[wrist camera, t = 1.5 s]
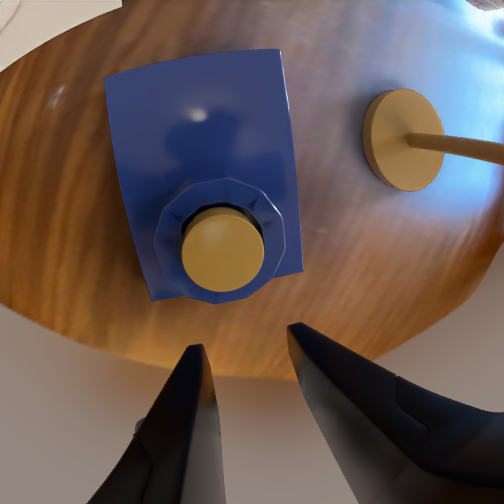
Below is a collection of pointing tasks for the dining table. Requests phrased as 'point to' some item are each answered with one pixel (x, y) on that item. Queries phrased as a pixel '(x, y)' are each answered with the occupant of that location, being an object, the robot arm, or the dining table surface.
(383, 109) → the table lamp
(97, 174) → the dining table surface
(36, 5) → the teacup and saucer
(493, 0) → the paper bowls
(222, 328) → the dining table surface
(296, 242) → the switch base
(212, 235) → the lamp switch
